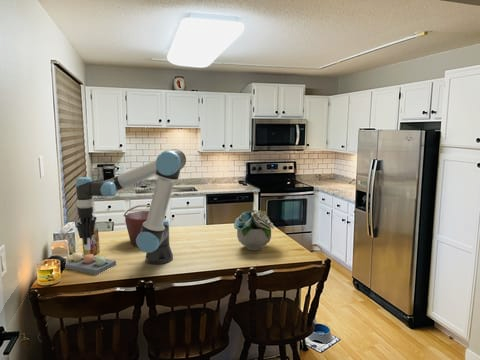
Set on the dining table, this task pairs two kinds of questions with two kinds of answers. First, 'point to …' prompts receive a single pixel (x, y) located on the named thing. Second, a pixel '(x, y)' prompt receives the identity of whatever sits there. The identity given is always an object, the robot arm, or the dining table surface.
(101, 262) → the sage button
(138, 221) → the bucket
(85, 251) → the candy box
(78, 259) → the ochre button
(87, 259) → the terracotta button
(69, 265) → the slate board
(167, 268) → the dining table surface
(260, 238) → the flower arrangement
